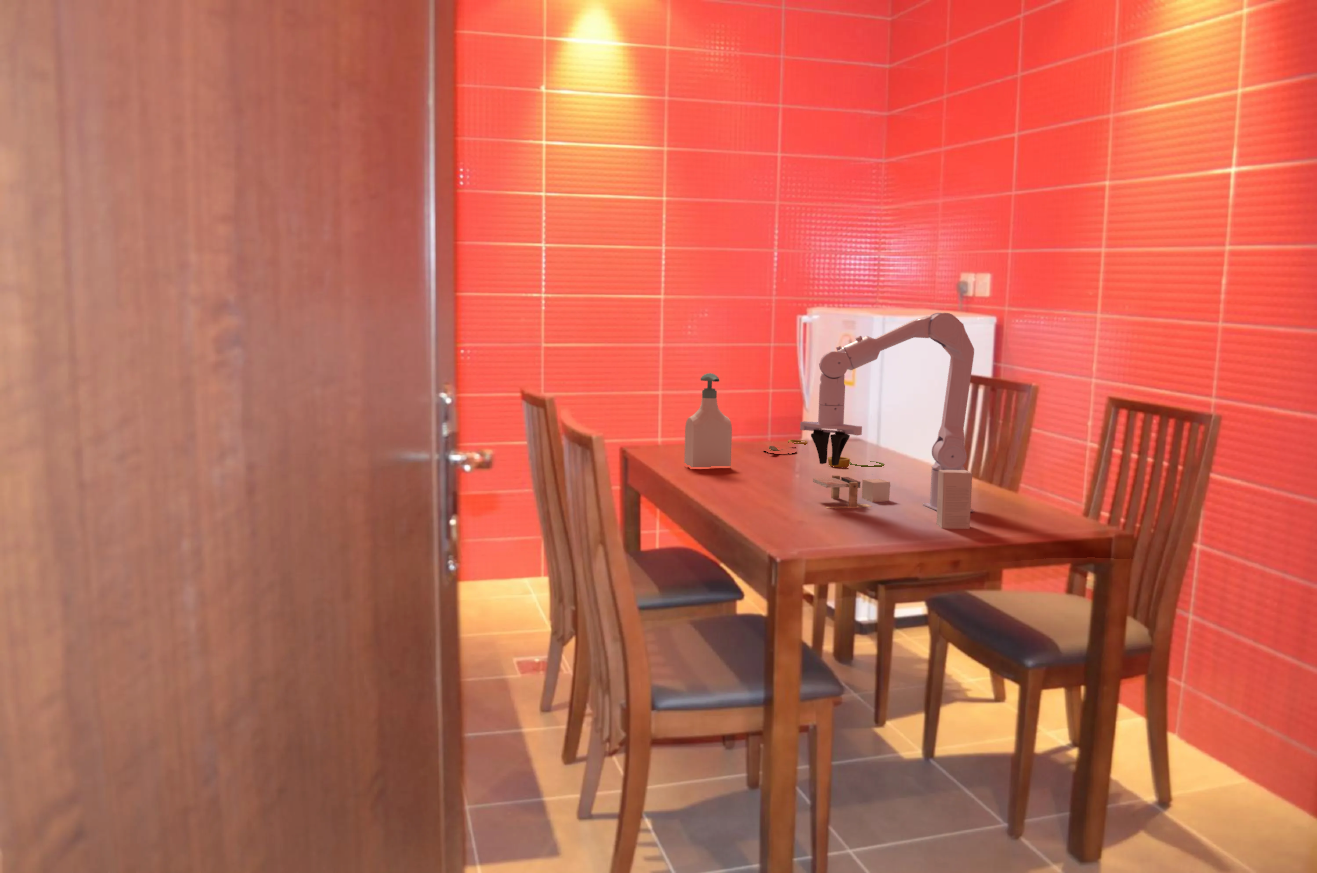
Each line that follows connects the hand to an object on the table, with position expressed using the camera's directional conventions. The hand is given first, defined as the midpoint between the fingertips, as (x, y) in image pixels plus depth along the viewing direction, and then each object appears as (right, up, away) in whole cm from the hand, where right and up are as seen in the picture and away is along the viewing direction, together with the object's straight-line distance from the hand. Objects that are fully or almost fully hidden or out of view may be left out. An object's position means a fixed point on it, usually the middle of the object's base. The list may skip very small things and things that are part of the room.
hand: (829, 464), depth 240 cm
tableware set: (+7, -3, +66) cm, 67 cm away
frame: (+4, -10, +2) cm, 11 cm away
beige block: (+12, -10, +6) cm, 16 cm away
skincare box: (+23, -13, -20) cm, 33 cm away
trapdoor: (+2, -5, +1) cm, 5 cm away
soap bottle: (-25, -4, +44) cm, 51 cm away
